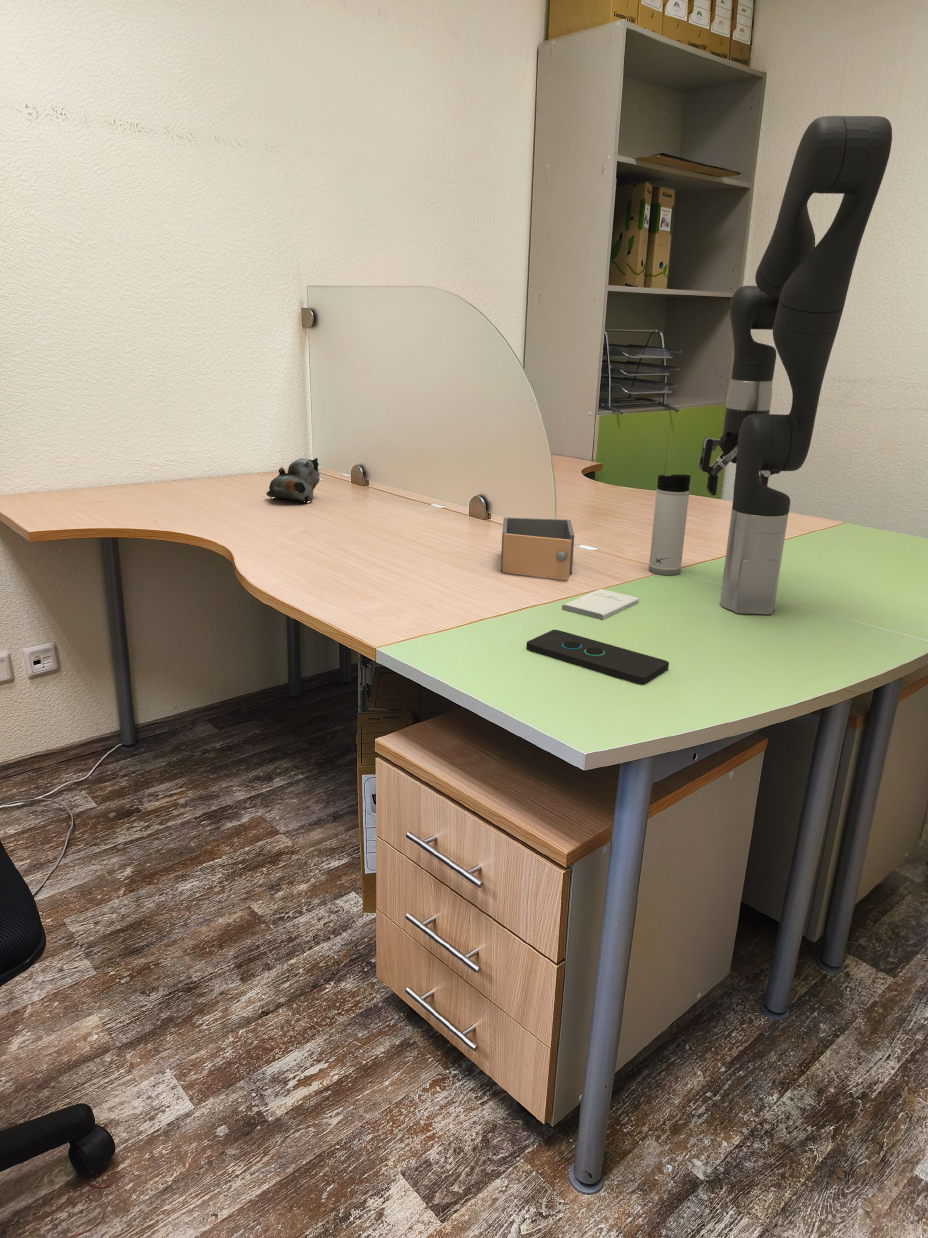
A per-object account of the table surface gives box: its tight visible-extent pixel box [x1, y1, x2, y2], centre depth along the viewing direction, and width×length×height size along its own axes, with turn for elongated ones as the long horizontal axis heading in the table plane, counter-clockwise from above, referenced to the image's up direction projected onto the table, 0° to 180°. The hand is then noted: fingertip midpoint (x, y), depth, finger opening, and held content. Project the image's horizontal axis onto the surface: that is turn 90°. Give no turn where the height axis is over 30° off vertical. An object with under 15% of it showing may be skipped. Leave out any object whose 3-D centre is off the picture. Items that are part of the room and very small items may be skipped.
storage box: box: [500, 517, 575, 576], centre depth 170 cm, size 14×14×8 cm
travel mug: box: [648, 473, 692, 576], centre depth 165 cm, size 6×7×20 cm
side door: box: [501, 533, 572, 580], centre depth 161 cm, size 2×13×8 cm, turn 71°
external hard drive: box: [561, 588, 639, 621], centre depth 146 cm, size 2×8×12 cm
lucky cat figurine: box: [266, 457, 321, 502], centre depth 226 cm, size 15×12×14 cm
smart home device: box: [525, 629, 670, 686], centre depth 123 cm, size 8×2×20 cm
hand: (735, 495), depth 155 cm, fingers open, 8 cm apart
